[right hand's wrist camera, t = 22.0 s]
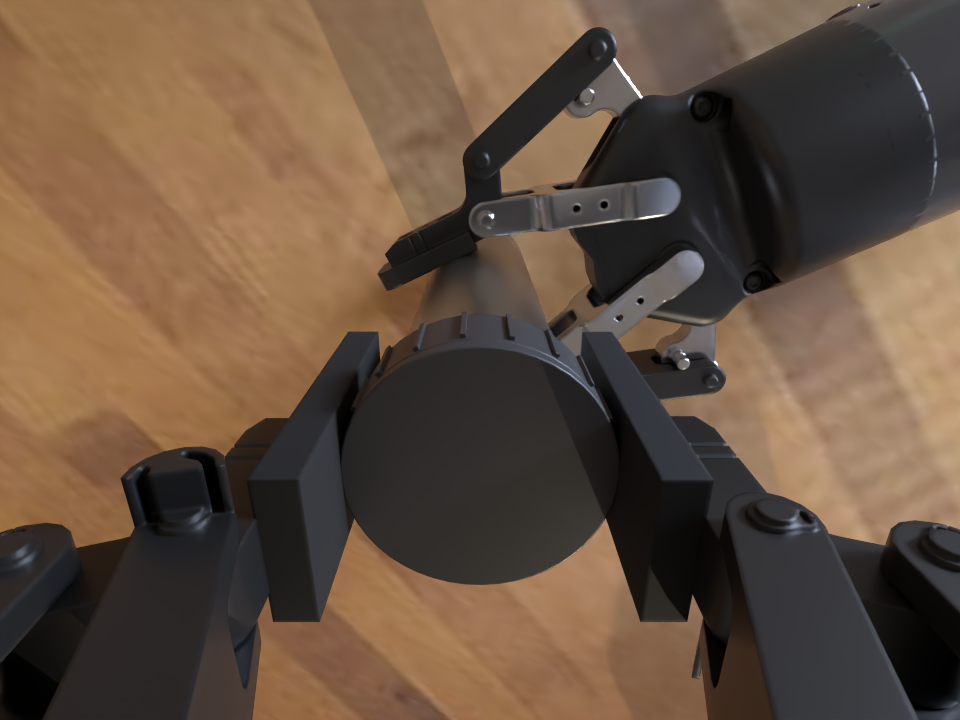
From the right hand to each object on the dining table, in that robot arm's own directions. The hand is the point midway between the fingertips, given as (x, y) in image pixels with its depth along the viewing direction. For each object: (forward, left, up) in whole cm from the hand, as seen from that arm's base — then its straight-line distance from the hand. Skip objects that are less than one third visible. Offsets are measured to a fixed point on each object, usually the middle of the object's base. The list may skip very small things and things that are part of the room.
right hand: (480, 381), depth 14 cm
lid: (0, 0, +4) cm, 4 cm away
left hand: (+3, 0, -7) cm, 8 cm away
